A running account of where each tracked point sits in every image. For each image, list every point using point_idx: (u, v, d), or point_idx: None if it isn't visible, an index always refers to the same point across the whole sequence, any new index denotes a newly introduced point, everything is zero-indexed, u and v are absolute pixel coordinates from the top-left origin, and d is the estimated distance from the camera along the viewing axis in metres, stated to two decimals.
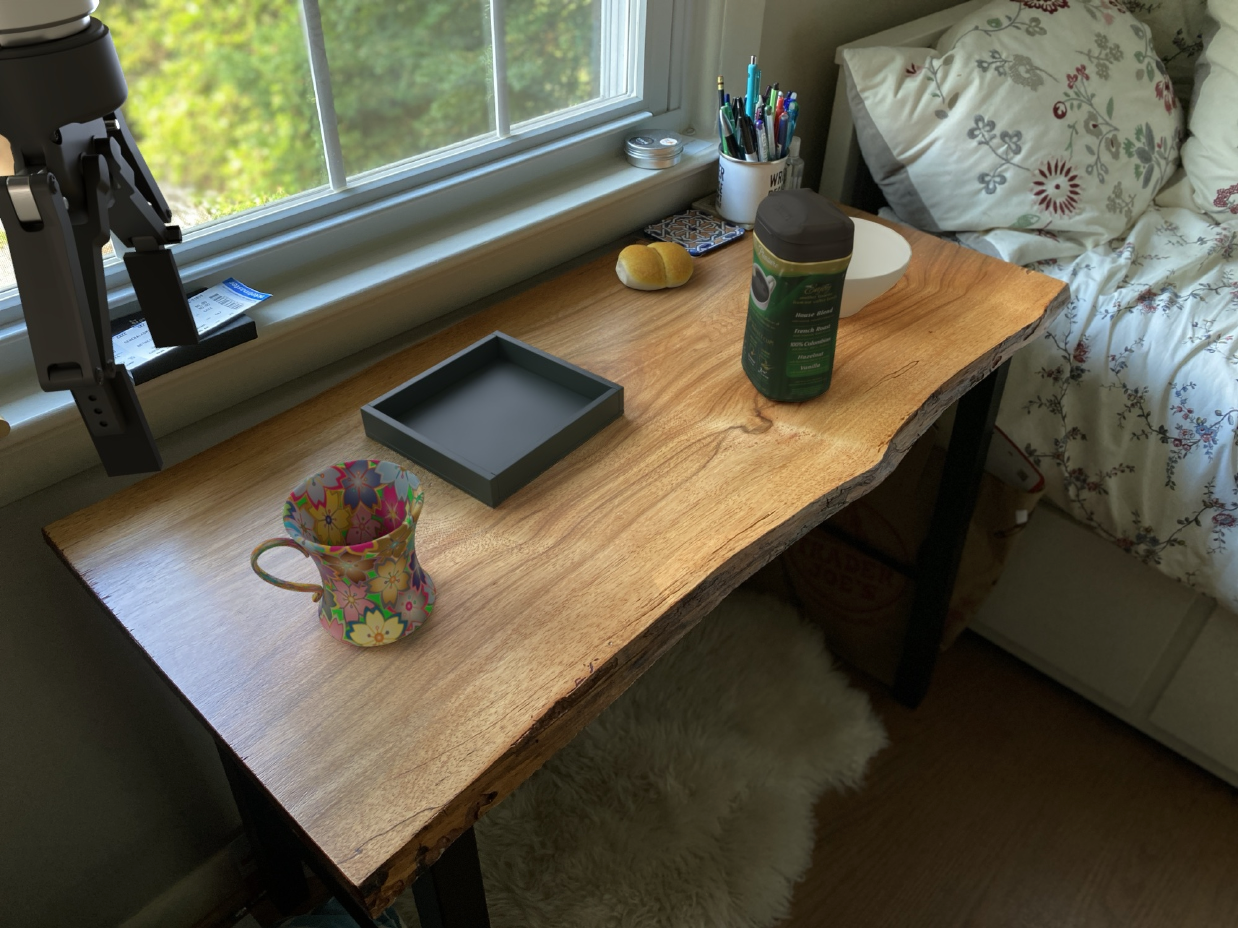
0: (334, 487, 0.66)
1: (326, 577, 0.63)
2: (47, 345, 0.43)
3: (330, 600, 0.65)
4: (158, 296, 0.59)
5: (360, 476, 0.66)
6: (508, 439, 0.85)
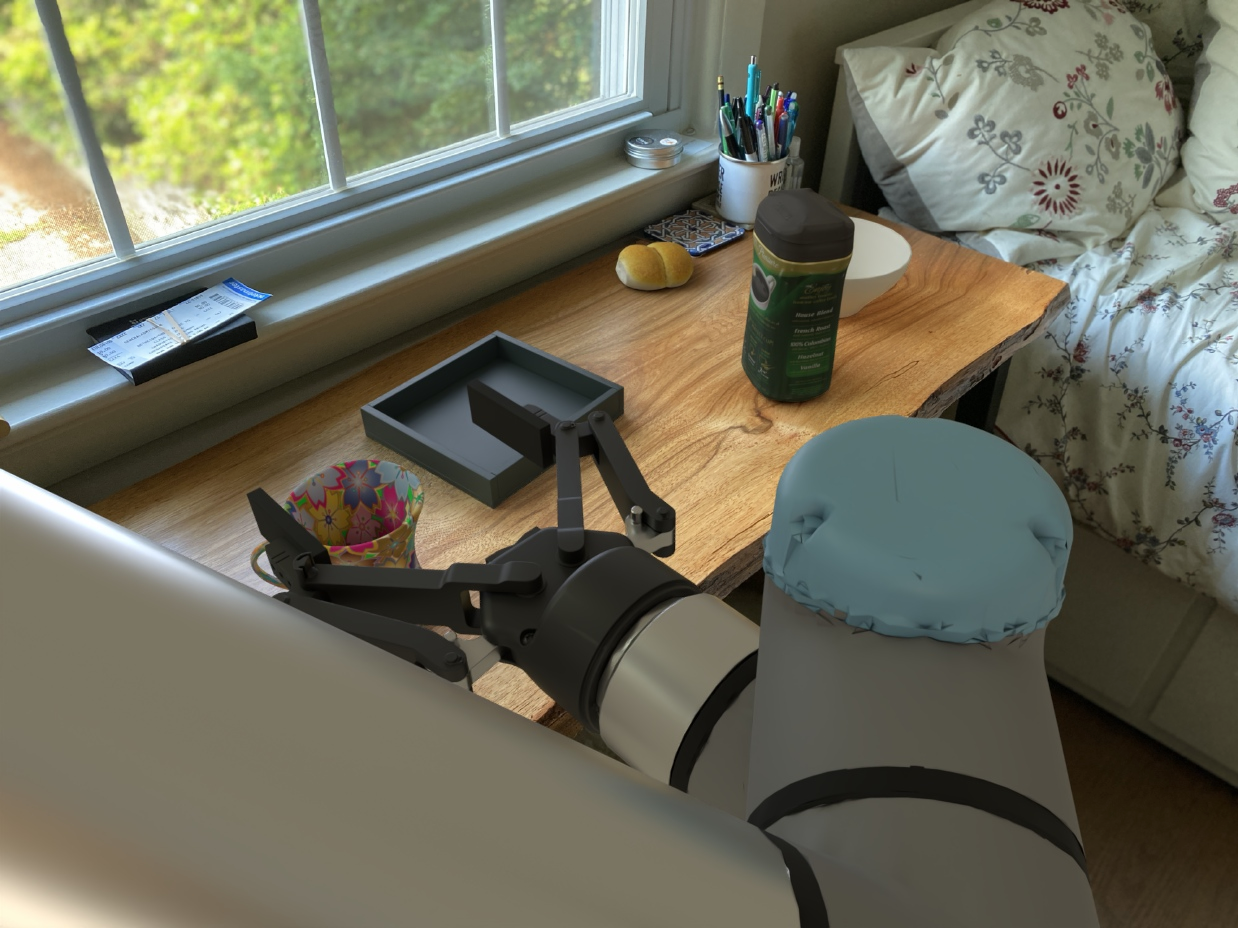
0: (334, 487, 0.66)
1: None
2: None
3: None
4: (509, 428, 0.52)
5: (360, 476, 0.66)
6: None
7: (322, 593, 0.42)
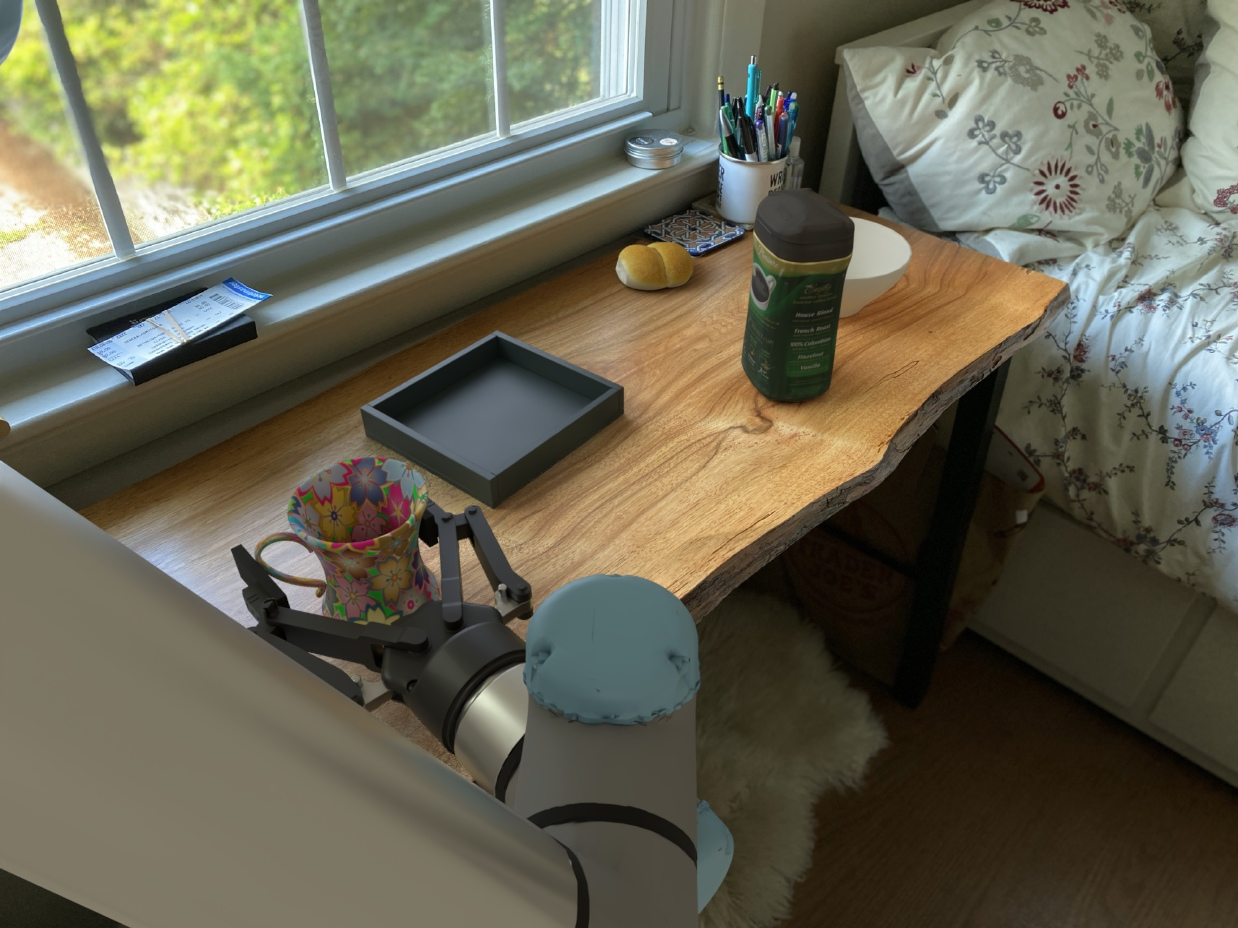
0: (340, 484, 0.66)
1: (329, 573, 0.64)
2: None
3: (333, 596, 0.65)
4: None
5: (366, 474, 0.66)
6: (508, 439, 0.85)
7: (279, 628, 0.59)
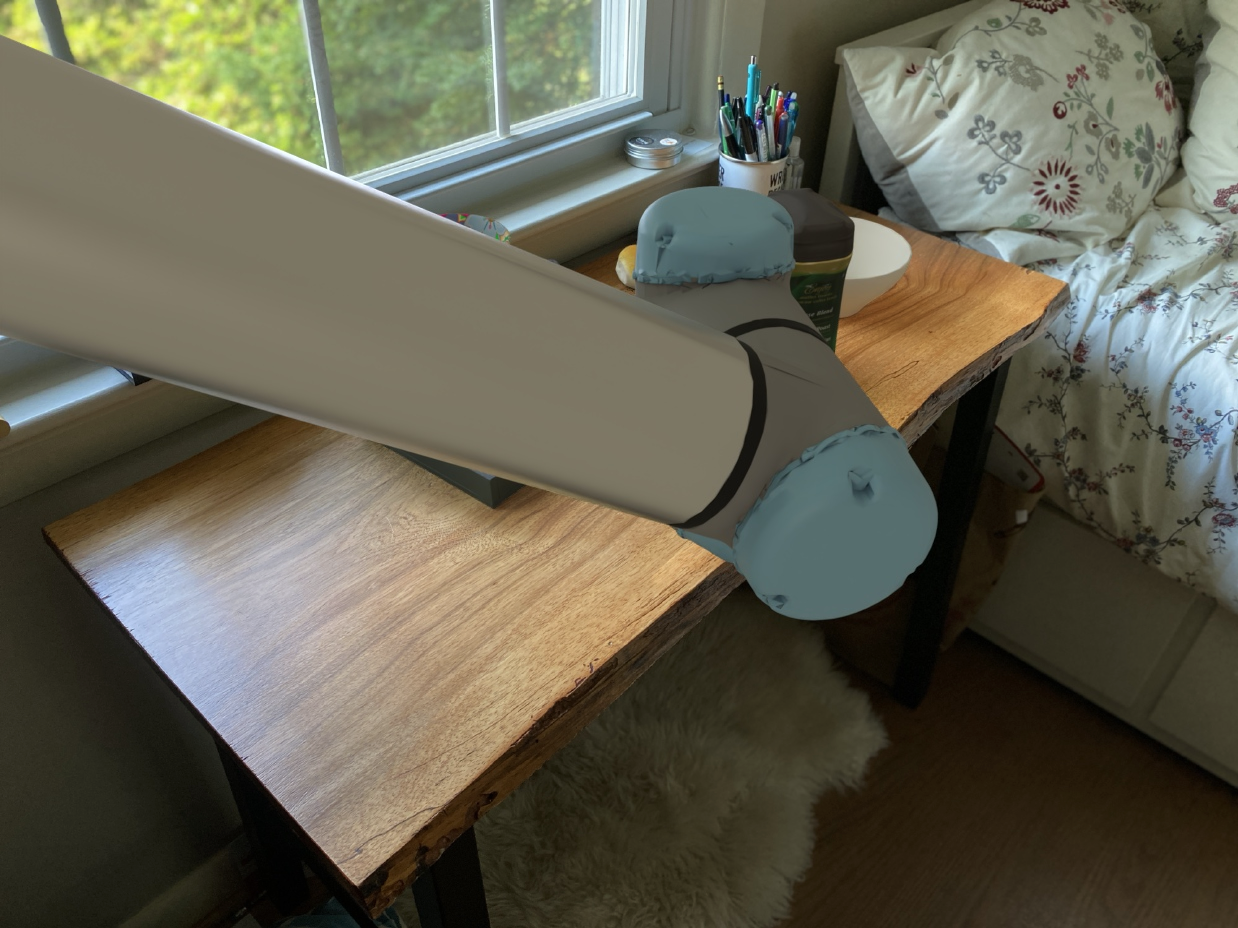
0: None
1: None
2: None
3: None
4: None
5: None
6: None
7: None
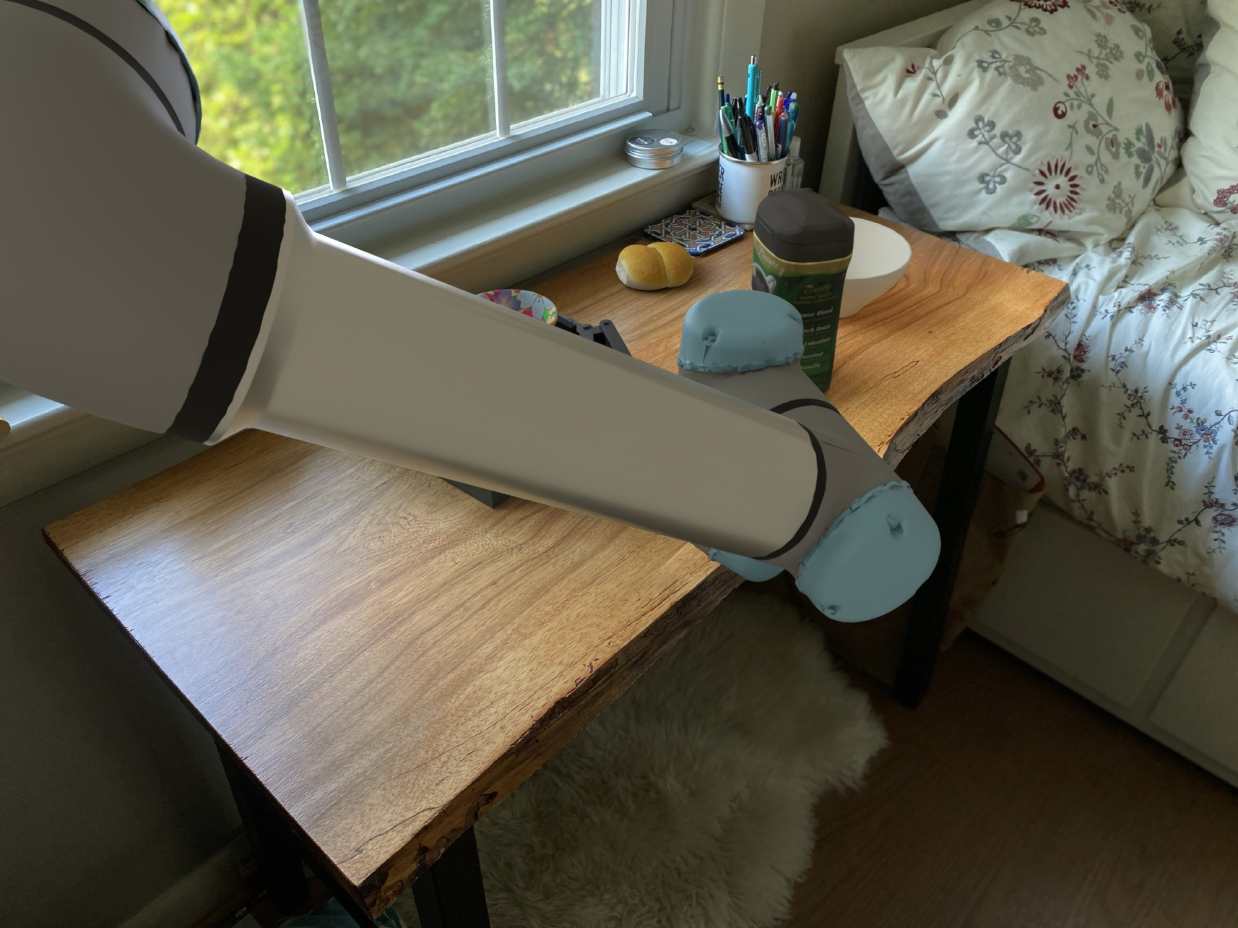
0: None
1: None
2: None
3: None
4: None
5: (504, 302, 0.85)
6: None
7: None
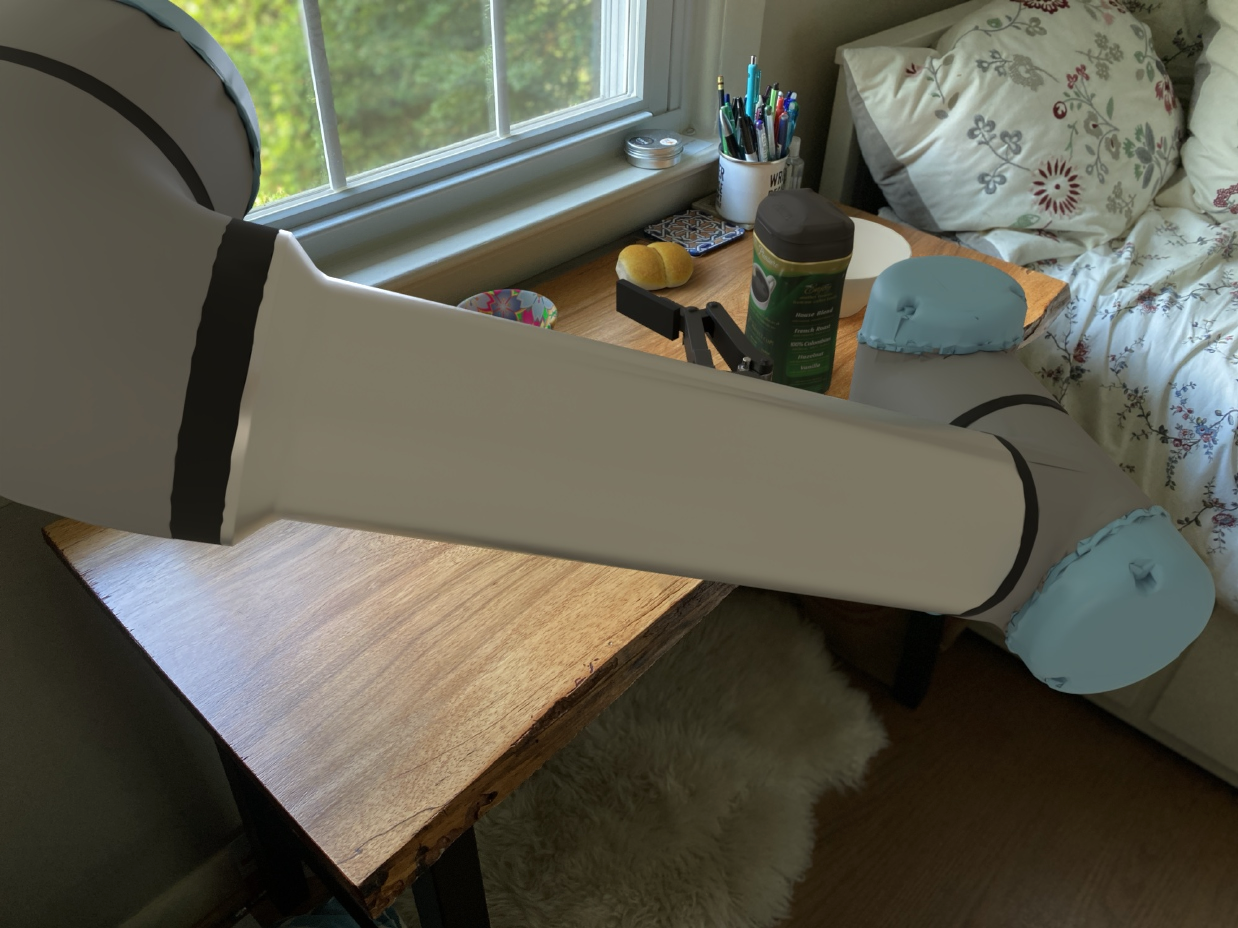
0: (485, 309, 0.84)
1: None
2: None
3: None
4: (647, 312, 0.74)
5: (504, 302, 0.85)
6: None
7: None
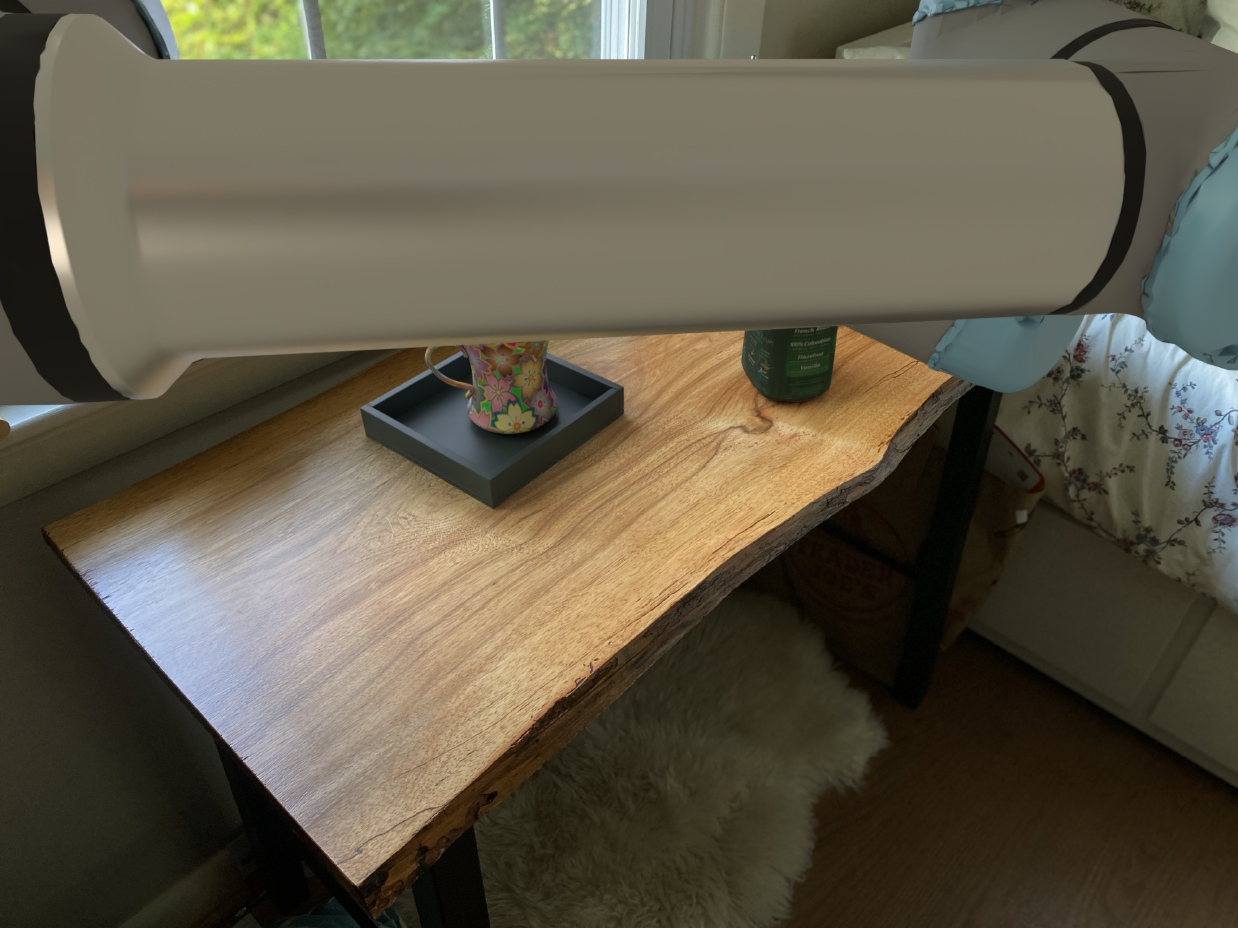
0: None
1: (480, 373, 0.82)
2: None
3: (480, 395, 0.84)
4: None
5: None
6: (508, 439, 0.85)
7: None
